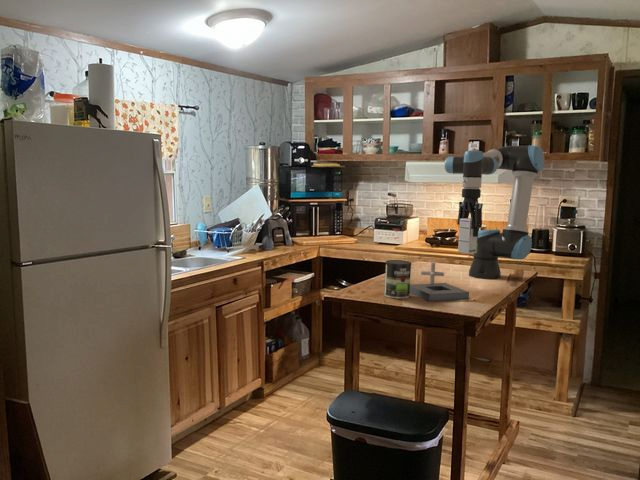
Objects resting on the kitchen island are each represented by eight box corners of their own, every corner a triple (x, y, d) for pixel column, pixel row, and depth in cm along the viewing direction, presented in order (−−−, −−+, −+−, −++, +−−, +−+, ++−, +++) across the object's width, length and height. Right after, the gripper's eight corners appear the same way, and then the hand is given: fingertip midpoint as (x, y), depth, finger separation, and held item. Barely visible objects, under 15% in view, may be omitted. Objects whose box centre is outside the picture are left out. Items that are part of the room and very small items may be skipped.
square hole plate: (444, 289, 238) (445, 282, 237) (468, 299, 221) (469, 292, 220) (407, 291, 232) (408, 284, 232) (429, 301, 215) (429, 294, 215)
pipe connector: (443, 287, 242) (444, 265, 241) (420, 286, 244) (421, 263, 243) (443, 283, 252) (444, 261, 251) (421, 281, 254) (422, 260, 253)
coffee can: (414, 298, 220) (415, 263, 219) (390, 299, 217) (391, 264, 216) (403, 292, 230) (404, 259, 228) (380, 293, 227) (381, 260, 225)
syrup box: (468, 254, 228) (470, 219, 226) (457, 252, 232) (459, 217, 230) (477, 253, 231) (479, 218, 229) (466, 251, 236) (468, 217, 234)
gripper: (450, 187, 236) (447, 240, 239) (477, 189, 218) (474, 246, 221) (465, 187, 239) (462, 240, 242) (493, 189, 220) (490, 246, 223)
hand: (468, 243), depth 231 cm, fingers closed on syrup box, 7 cm apart
